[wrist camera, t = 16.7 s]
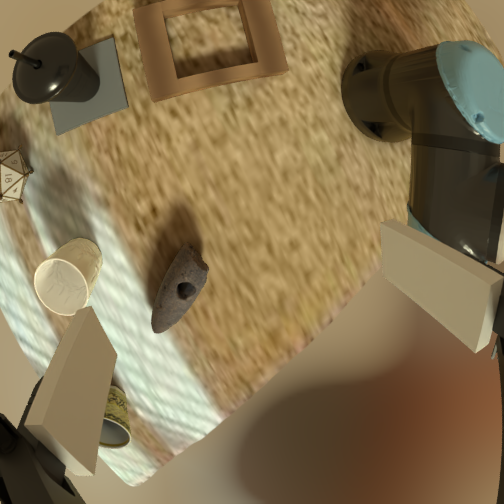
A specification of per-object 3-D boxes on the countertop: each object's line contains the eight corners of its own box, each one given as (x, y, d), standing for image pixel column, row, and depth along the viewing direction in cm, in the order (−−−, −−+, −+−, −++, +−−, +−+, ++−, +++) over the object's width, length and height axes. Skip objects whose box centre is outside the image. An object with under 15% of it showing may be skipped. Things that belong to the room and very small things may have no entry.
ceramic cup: (145, 400, 53) (142, 440, 44) (112, 417, 54) (107, 453, 44) (97, 359, 48) (85, 398, 39) (66, 379, 49) (53, 416, 39)
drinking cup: (83, 51, 31) (17, 0, 12) (120, 77, 34) (69, 31, 15) (50, 95, 32) (-34, 76, 14) (86, 122, 35) (11, 115, 16)
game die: (37, 176, 39) (32, 221, 34) (-9, 182, 35) (-19, 228, 30) (34, 127, 33) (24, 168, 28) (-16, 134, 29) (-34, 177, 24)
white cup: (51, 247, 40) (23, 274, 31) (89, 224, 40) (66, 247, 31) (77, 289, 43) (56, 323, 34) (115, 269, 44) (100, 302, 34)
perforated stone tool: (170, 326, 49) (168, 352, 42) (141, 312, 47) (135, 337, 40) (216, 250, 46) (221, 269, 39) (185, 233, 44) (185, 249, 38)
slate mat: (114, 39, 32) (113, 37, 31) (128, 107, 36) (127, 106, 35) (46, 68, 31) (43, 67, 30) (58, 135, 35) (56, 135, 34)
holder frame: (260, -7, 33) (264, -16, 30) (282, 74, 38) (288, 70, 36) (135, 17, 31) (132, 9, 29) (154, 102, 37) (151, 99, 34)
